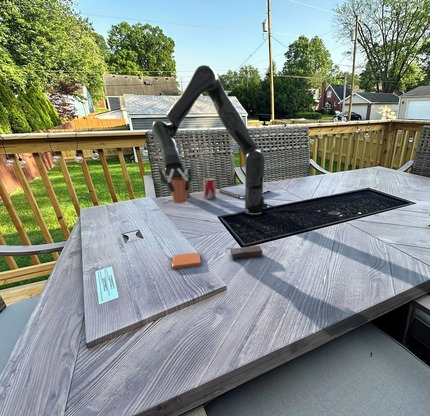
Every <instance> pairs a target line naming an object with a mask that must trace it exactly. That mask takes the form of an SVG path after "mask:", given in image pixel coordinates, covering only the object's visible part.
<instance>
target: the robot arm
mask: <svg viewBox="0 0 430 416" xmlns="http://www.w3.org/2000/svg"><path fill="white" fill-rule="evenodd" d="M204 92H205V93H206V94H207V96H208V97H209V98H210V100H211V101H212V103H213V105H214V108H215V110H216V111H215V112H216V113H217V115H218V118H219V120H220V122H221V124H222V125H223V126H224V128H225V130H226V131H227V134H229V136H230V137H231V138H232V139H233V140H234V141H235V143H236V144H237V145H238V147H239V148H240V150H241V153H242V154H243V156H244V158H245V177H244V178H245V179H244V181H245V182H244V184H245V199H244V213H245V214H246V215H248V216H260V215H263V214H264V209H268V207H270V208H272V209H274V210H275V212H279V213H280V212H283V211H293V212H294V211H299V210H300V211H301V210H302V211H304V212H307V209H306V208H304V207H298V208H283V209H277V208H276V207H275V206H274V205H271V204H269V203H268V202H267V201H266V200H265V196H264V194H263V186H264V177H265V164H266V162H265V161H266V159H265V155H264V154H263V152H262V151H261V150H260V149H259V146H257V145H256V143H255V141H254V140H253V138H252V136H251V135H250V134H251V133H250V132H249V130H248V127H247V124H245V121H244V119H243V117H242V116H241V114H240V112H239V110H238V109H237V107H236V106H235V104H234V103H233V102H232V100H231V99H230V98H229V96H228V94H227V93H226V91H225V90H224V87H223V85H222V83H221V81H220V79H219V77H218V74H217V72H216V71H215V69H213V68H212V67H211V66H209V65H206V64H203V65H200V66H198V67H197V68H196V69H195V71H194V73H193V75H192V77H191V78H190V80H189V82H188V84H187V85H186V87H185V88H184V90H183V92H182V93H181V94H180V96H179V97H178V98H177V100H176V101H175V102H174V103H173V104H172V105H171V107H170V108H169V109H168V111H167V113H166V119H168V121H170V122H169V123H167V122H165V121H163V120H162V119H161V120H159V119H158V120H155V121H153V123H152V126H151V131H152V132H151V133H152V134H153V137H154V138H155V140H156V142H157V143H158V144H159V149H160V153H161V158H162V163H163V167H164V170H161V169H159V170H158V176H159V179H160V181H161V184H162V185H166V186H167V189H168V191H169V192H170V193H172V192H173V188H172V184H171V179H172V178H185V181H186V191H188V190H189V188H190V189H191V185H190V186H189V183H192V181H193V175H192V169H191V168H190V167H189V168H187V169H186V168H184V165H183V163H182V159H181V156H180V152H179V149H178V147H177V144H176V141H175V139H174V138H175V137H176V135H177V132H178V130H179V127H180V125H181V123H182V122H183V121H184V120H185V118H186V117H187V116H188V114H189V113H190V112H191V110H192V109H193V106H194V105H195V103H196V101H197V100H198V99H199V98H200V96H201V95H202V94H203V93H204ZM184 172H185V173H186V174H187V177H188V179H187V177H186V176H185V175H184ZM165 175H166V176H168V178H167V179H166V177H165ZM303 208H304V209H303Z"/></svg>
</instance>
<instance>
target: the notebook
mask: <svg viewBox="0 0 430 416" xmlns="http://www.w3.org/2000/svg"><path fill="white" fill-rule="evenodd" d="M238 186H245V183H242V184H241V183H240V184H237V185H232V186H227V187H226V186H225V187H222V188H219V193H222V194H224V195H228V196H230V197H233V198H236V199H238V200H245V189H244V188H243V187H238ZM237 196H238V197H237ZM240 197H243V198H240Z"/></svg>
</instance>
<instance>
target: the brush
mask: <svg viewBox="0 0 430 416" xmlns="http://www.w3.org/2000/svg"><path fill="white" fill-rule="evenodd" d="M262 255H263V248H261V246H260V245H250V246H243V247H234V248H230V256H231V258H232V261H237V260H239V261H240V260H246V259H254V258H262Z"/></svg>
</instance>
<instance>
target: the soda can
mask: <svg viewBox="0 0 430 416" xmlns="http://www.w3.org/2000/svg"><path fill="white" fill-rule="evenodd" d="M216 192H217V190H216V180H215V177H205V178H204V180H203V197H204V198H205V199H206V200H213V199H215V198H216V196H217V195H216V194H217V193H216Z"/></svg>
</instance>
